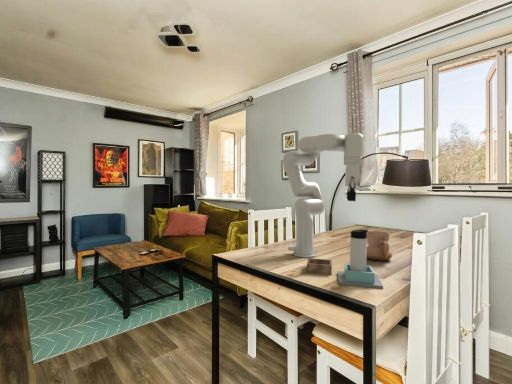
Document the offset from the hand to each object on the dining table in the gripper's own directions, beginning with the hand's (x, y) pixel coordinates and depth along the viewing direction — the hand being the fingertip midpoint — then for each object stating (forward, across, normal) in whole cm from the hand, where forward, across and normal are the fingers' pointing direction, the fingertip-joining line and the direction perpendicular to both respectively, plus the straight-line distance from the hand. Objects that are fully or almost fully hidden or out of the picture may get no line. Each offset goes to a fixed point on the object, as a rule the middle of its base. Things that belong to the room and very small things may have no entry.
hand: (350, 200), depth 122 cm
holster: (+33, +3, -12) cm, 35 cm away
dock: (+32, +12, +4) cm, 34 cm away
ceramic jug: (+33, -26, +16) cm, 45 cm away
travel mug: (+31, +12, +4) cm, 33 cm away
